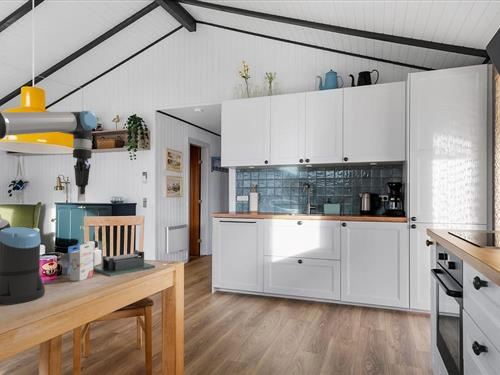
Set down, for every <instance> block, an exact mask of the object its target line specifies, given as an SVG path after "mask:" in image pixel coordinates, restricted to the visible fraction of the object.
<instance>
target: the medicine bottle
mask: <svg viewBox="0 0 500 375" xmlns="http://www.w3.org/2000/svg"><path fill="white" fill-rule="evenodd" d="M88 243H93V250H94V254H93V267H97V266H98V265H99V266H100V264H102V249H99V242H98V241H97V240H87V241H85V242H84V244H88ZM88 247H89V246H86V247H84V248H88Z"/></svg>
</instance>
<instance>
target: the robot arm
mask: <svg viewBox="0 0 500 375" xmlns="http://www.w3.org/2000/svg"><path fill="white" fill-rule="evenodd" d="M97 125H98V117H97V115H96V114H95V113H94V112H93V111H91V110H82V111H27V112H25V111H24V112H23V111H21V112H19V111H18V112H17V111H16V112H13V111H11V112H10V111H9V112H5V111H4V112H3V111H2V112H1V111H0V140H3V139H5V138H6V136H17V135H18V136H19V135H20V136H21V135H30V134H31V135H33V134H49V133H63V134H67V135H73V136H72V149H73V150H72V157H73V159H76V162H75V165H73V169H74V177H75V178H74V179H75V180H74V181H75V186H76V187H77V202H86V188H87V186H88V185H89V178H90V170H91V163H89V160H90V159H92V156H93V154H92V146H93V143H92V141H93V140H92V139H93V137H92V136H93V130H94V129H95V128H96V127H97ZM41 240H42V239H41V234H40V231H39V230H38V229H35V228H31V227H19V226H18V227H16V226H15V227H11V224H10V222H9V220H7V219H3V218H2V216H1V214H0V305H14V304H22V303H28V302H31V301H34V300H37V299H40V298H42V297H44V296H45V294H46V293H45V292H46V289H45V285H44V281H43V280H42V279H43V278H42V277H41V274H40V261H41V256H40V255H41V242H42V241H41Z"/></svg>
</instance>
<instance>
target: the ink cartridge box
mask: <svg viewBox="0 0 500 375" xmlns="http://www.w3.org/2000/svg"><path fill="white" fill-rule="evenodd" d="M86 246H89V247H88V248H85V247H86ZM93 254H94V250H93V243H88V244H85V243H84V244H81V245H80V250H78V251H74V252H70V274H69V281H73V282H74V281H75V282H77V281H78V282H81V281H84V280H86V279H89V278H93V277H94V270H93V267H94V266H93Z"/></svg>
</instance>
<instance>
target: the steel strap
mask: <svg viewBox="0 0 500 375" xmlns="http://www.w3.org/2000/svg"><path fill="white" fill-rule="evenodd" d="M141 252H142V251H140V250H138V251H133V253H126V254H119V255H112V256H107V257H105V258H104V259H105V260H107V261H109V258H114V260H118V259H124V258H130V257H137V256H138V257H141Z"/></svg>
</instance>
